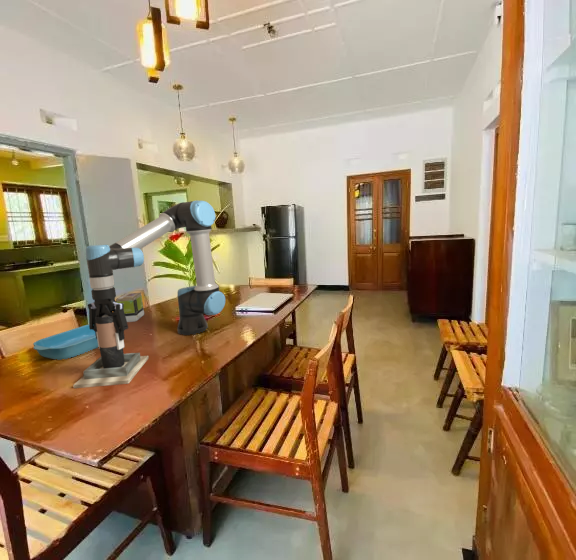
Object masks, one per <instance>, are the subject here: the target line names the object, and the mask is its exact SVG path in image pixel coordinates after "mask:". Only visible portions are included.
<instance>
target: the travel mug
mask: <svg viewBox="0 0 576 560" xmlns="http://www.w3.org/2000/svg"><path fill="white" fill-rule="evenodd" d="M111 313H112V312H111ZM113 317H117V314H116V315H113V316H108V315H107V313H105V314H104V316H102V317H97V315H96V317H95V319H96V326H97V334H98V341H99V348H100V349H99V348H98V349H99V352H100V357H101V358H102V364H103V368H116V367H122V366H123V365H124V354H125V353H124V348H122V349H120V350H117V343H116V336H115V333H116V332H117V331H116V328H115V326H114V322H113Z"/></svg>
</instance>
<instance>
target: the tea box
mask: <svg viewBox="0 0 576 560" xmlns="http://www.w3.org/2000/svg"><path fill="white" fill-rule="evenodd" d="M115 301H116V303H119V304H120V303H123V304H124V313H125V317H126V320H127V323H132V322H133V323H134V322H137V321H138V320H140V319H141V318H142V317H143V316H145V311H144V304H143V303H144V302H143V295H142V292H140V291H139V292H129V293H124V294H122V295H120V296H118V297H116V298H115Z"/></svg>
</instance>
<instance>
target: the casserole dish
mask: <svg viewBox="0 0 576 560" xmlns="http://www.w3.org/2000/svg"><path fill="white" fill-rule="evenodd" d="M32 345H33V350H35V351H37V353H38V354H39V355H40V356H41V357H44V358H46V359H52V360H56V359H57V360H56V361H63V360H62V359H64V360H68V358H69V359H71V357H72V358H75V357H78V356H81V355H83V354H86V353H88V351H89V352H91V351H93V349H94V350H96V349H99V348H98V341H97V339H96V335H95V331H94V330H90V328H89V323H88V324H86V325H82V326H78V327H75V328H72V329H70V330H66V331H62V332H60V333H55V334H53V335H49V336H46V337H43V338H41V339H38V340H36V341H34V342H33V343H32ZM90 350H91V351H90ZM85 352H86V353H85ZM80 354H81V355H80ZM77 355H78V356H77Z"/></svg>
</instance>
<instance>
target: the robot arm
mask: <svg viewBox="0 0 576 560" xmlns="http://www.w3.org/2000/svg"><path fill="white" fill-rule="evenodd" d="M213 207H214V206H212V205H211V204H210V203H209V202H208V201H206V200H197V199H196V200H193V201H191V200H190V201H187V202H179V203H176V204H175V205H173V206H171V207H169V208H168V209H166V210H164V211H162V212H161V213H159V214H158V217H157V218H155V219H154V220H152V221H150V222H148V223H146V224H145V225H143V226H142V227H140V228H138V229H137V230H134V231H133V232H131V233H130V234H128V235H126V236H124V237H122V238H121V239H120V240H117V241H116V242H114V243H112V244H111V245H108V244H94V245H92V244H91V245H87V246H86V247H85V260H86V265H87V271H88V277H89V278H88V279H89V286H90V289H91V297H92V300H94V302H91V303H88V304H87V308H88V316H89V317H88V318H89V319H88V322H89V323H88V324H89V328H90V330H94V331H95V335H96V339H97V341H98V334H97V326H96V319H95V317H96V315H97V317H102V316H104V314H105V313H107V315H108V316H113V315H116V314H117V317H113V322H114V326H115V328H116V331H117V332H116V333H115V336H116V343H117V350H120V349H122V348H123V349H124V348H125V342H124V340H125V331H126V330H128V329H129V326H128V325H129V324H128V322H127V320H126V317H125V313H124V304H123V303H120V304H119V303H116V298H117V294H116V287H114V286H115V281H114V280H115V279H114V272H113V271H114V270H116V271H117V270H121V269H129V268H133V269H135V268H136V267H140V266H141V267H142V266H143V264H144V262H145V261H144V260H145V257H144V256H145V254H144V252H143V251H142V249H143V248H145V247H146V246H148V245H150V244H151V243H152V242H154V241H156V240H158V239H159V238H161V237H162V236H164V235H166V234H167V233H169V232H170V233H172V232H173V233H174V231H176V230H178V229H183V228H185V232H186V233H187V234H188V235H189V237H190V245H191V250H192V251H191V252H192V258H193V266H194V267H193V268H194V272H195V273H194V274H195V280H196V281H195V282H196V285H192V286H185V287H182V288H179V289H178V290H177V303H178V311H179V320H178V323H177V328H176V329H177V334H179V335H182V334H183V335H182V336H191V335H190V334H193V335H197V334H196V333H199V334H201V333H200V332H202V333H204V332H203V331H205V330H206V329H207V328H208V329H209V325H208V322H207V320H206V318H205V316H204V315H207V316H216V315H218V314H219V313H221V312H222V311H223V309H224V308H225V305H226V296H225V294H224V293H223V292H222V291H220V286H219V284H217V282H216V279H215V271H214V265H213V256H212V246H211V240H210V239H211V238H210V233H211V231H212V230H213V229H212V225H213V224H214V223H215V221H216V213H215V209H214V208H213ZM111 312H112V313H111ZM208 329H207V330H208ZM207 330H206V331H207ZM206 331H205V332H206ZM98 347H99V341H98ZM98 349H99V350H100V348H98Z"/></svg>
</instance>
